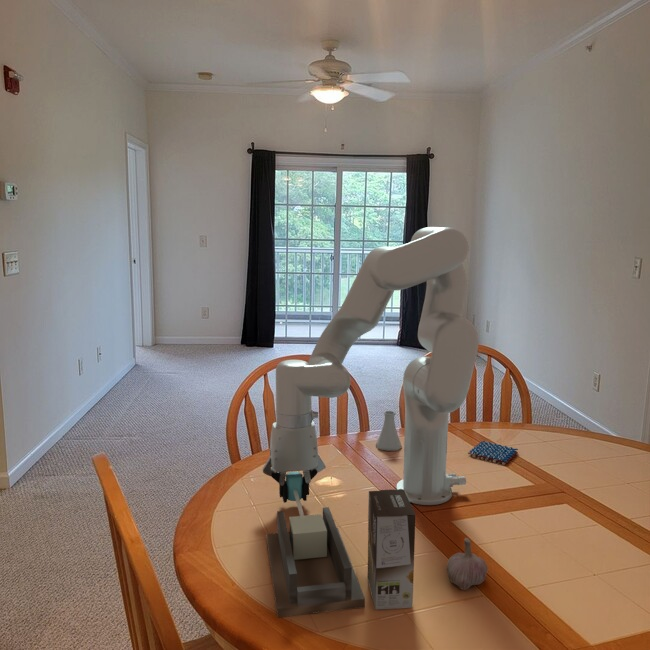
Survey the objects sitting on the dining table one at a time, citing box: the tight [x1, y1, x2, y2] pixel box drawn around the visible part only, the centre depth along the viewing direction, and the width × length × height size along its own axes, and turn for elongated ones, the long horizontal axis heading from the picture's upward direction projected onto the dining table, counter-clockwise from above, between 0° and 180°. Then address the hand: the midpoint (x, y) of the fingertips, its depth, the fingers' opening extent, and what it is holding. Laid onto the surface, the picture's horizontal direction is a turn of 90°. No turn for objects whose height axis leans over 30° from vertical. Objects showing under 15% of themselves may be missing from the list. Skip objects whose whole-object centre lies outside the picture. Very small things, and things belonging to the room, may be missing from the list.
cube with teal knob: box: [285, 471, 327, 560], centre depth 112 cm, size 6×25×5 cm, turn 10°
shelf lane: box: [266, 506, 366, 618], centre depth 99 cm, size 14×22×6 cm, turn 10°
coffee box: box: [366, 488, 416, 610], centre depth 93 cm, size 9×6×16 cm
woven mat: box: [467, 440, 519, 466], centre depth 151 cm, size 10×11×2 cm
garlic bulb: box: [446, 537, 488, 591], centre depth 96 cm, size 8×7×8 cm
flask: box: [375, 410, 403, 452], centre depth 155 cm, size 7×7×10 cm
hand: (294, 498), depth 122 cm, fingers closed on cube with teal knob, 3 cm apart
